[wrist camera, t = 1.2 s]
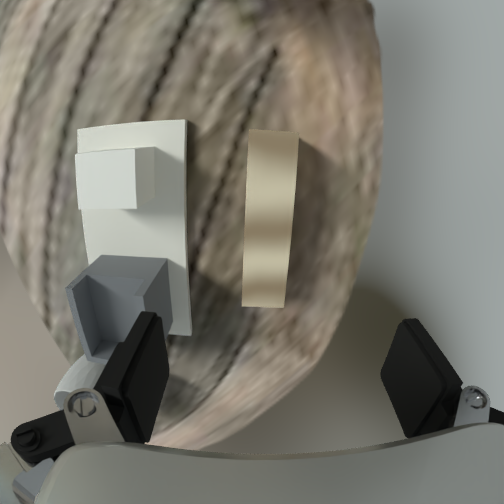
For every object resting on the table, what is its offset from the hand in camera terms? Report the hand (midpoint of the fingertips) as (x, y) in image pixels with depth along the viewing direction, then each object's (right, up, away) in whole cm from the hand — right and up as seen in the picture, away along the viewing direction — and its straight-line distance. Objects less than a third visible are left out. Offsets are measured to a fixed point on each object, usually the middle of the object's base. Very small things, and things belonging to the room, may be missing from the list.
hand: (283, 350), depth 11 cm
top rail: (0, +8, +19) cm, 21 cm away
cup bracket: (-14, +6, +19) cm, 25 cm away
